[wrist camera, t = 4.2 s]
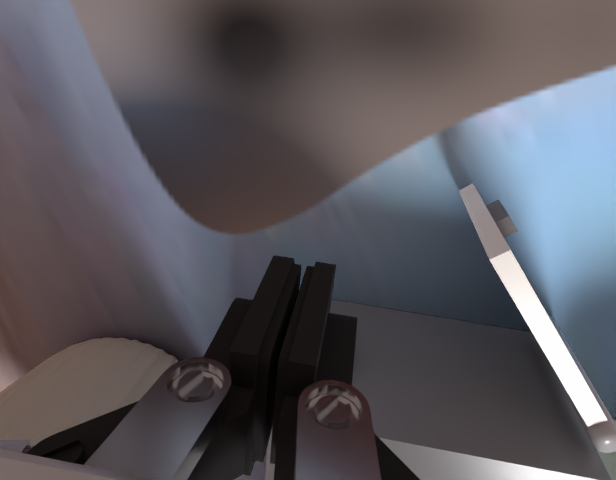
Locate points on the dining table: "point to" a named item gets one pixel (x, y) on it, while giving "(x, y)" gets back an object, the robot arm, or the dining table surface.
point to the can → (609, 462)
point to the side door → (540, 319)
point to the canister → (79, 386)
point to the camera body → (465, 399)
